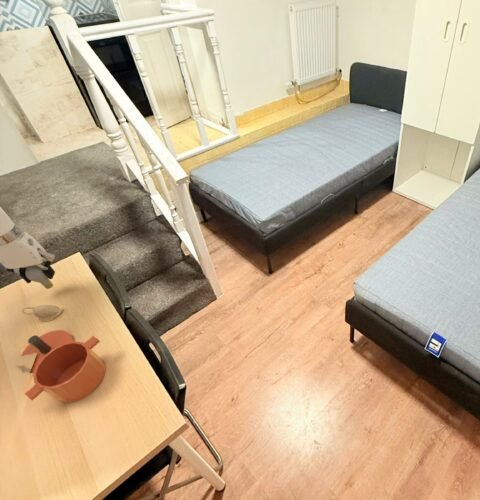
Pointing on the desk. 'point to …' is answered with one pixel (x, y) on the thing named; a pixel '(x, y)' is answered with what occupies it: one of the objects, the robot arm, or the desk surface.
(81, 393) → the pot
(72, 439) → the desk surface
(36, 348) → the pot lid
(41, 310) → the decorative ornament
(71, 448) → the desk surface
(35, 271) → the light bulb
